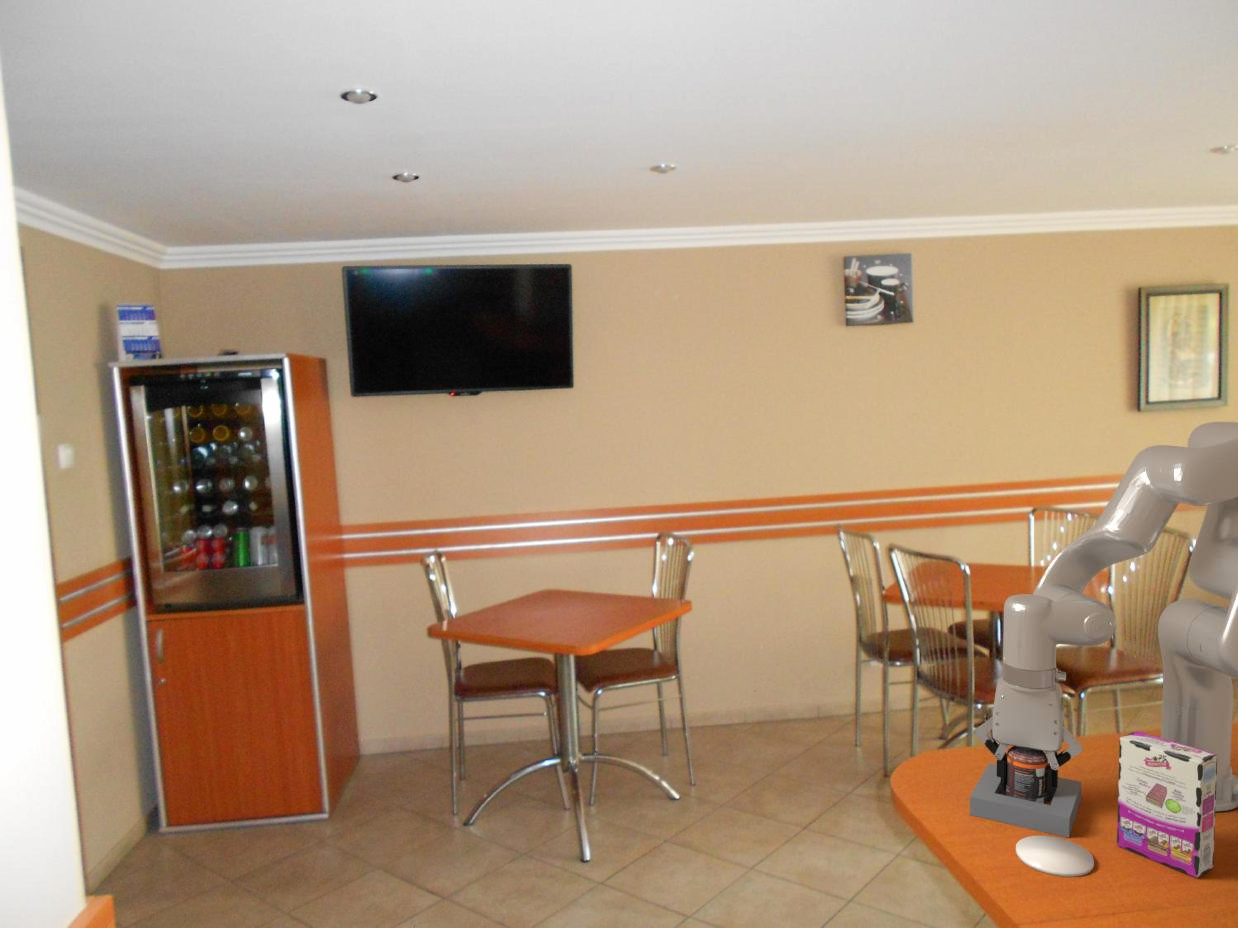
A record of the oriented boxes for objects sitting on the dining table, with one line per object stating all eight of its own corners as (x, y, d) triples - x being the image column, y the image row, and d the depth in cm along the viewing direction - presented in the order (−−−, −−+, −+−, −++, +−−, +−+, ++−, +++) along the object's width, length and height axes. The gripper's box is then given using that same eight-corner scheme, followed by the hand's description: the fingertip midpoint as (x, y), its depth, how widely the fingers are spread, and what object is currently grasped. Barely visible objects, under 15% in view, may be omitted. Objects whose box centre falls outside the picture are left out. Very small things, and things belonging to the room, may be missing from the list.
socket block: (1081, 799, 147) (1081, 781, 147) (1068, 837, 136) (1069, 818, 135) (988, 780, 155) (988, 762, 155) (969, 814, 143) (969, 796, 143)
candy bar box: (1215, 868, 127) (1220, 753, 125) (1197, 879, 124) (1202, 762, 122) (1132, 835, 136) (1136, 728, 134) (1114, 845, 133) (1117, 736, 131)
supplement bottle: (1052, 816, 142) (1053, 746, 141) (1011, 815, 143) (1013, 744, 142) (1040, 798, 148) (1041, 730, 147) (1001, 797, 149) (1002, 729, 147)
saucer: (1097, 850, 132) (1097, 846, 132) (1089, 884, 123) (1089, 879, 123) (1022, 833, 137) (1022, 829, 137) (1009, 863, 129) (1009, 859, 129)
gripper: (1092, 675, 142) (1089, 787, 144) (974, 660, 151) (972, 766, 152) (1089, 690, 136) (1086, 807, 137) (966, 674, 144) (964, 784, 146)
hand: (1026, 784), depth 145 cm, fingers closed on supplement bottle, 6 cm apart
